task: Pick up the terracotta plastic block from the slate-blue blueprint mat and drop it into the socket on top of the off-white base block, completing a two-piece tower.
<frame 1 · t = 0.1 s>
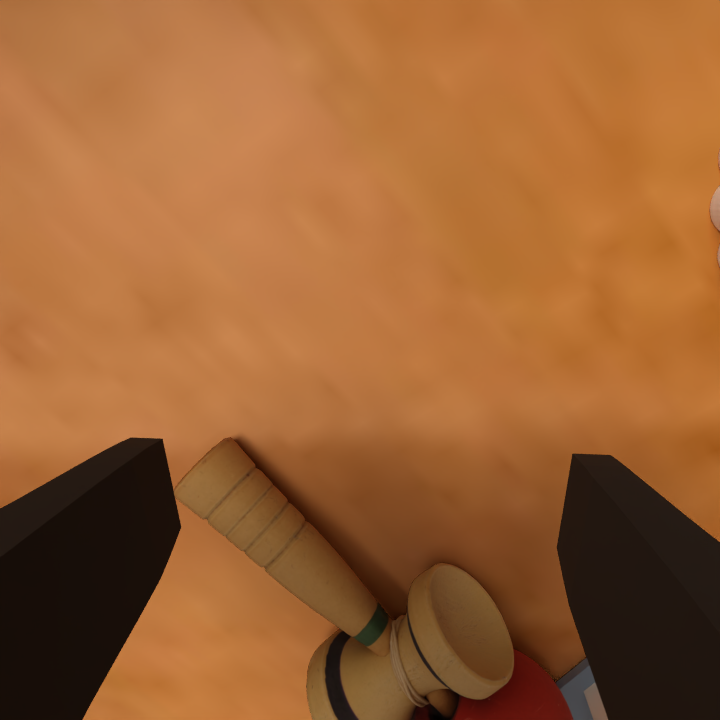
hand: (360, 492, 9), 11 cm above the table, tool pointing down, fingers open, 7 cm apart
kendama: (376, 580, 23), on the table
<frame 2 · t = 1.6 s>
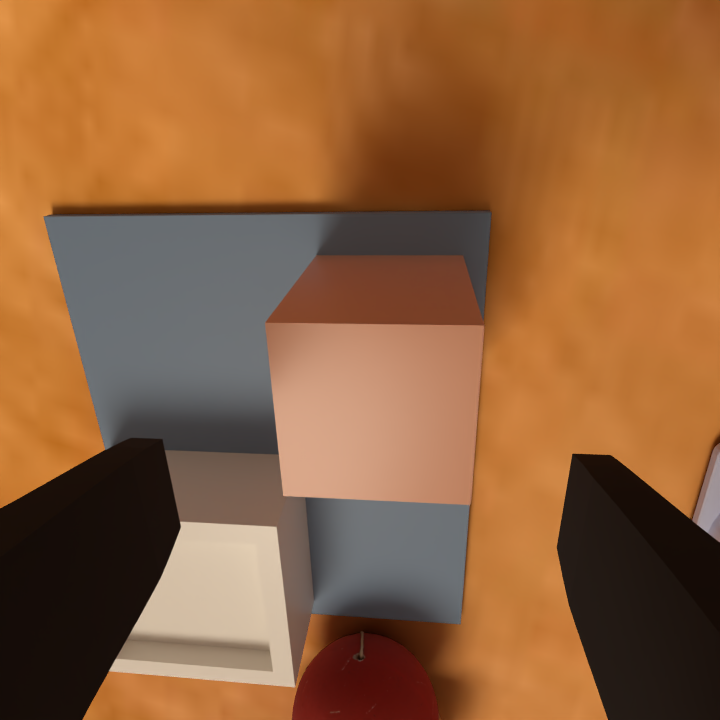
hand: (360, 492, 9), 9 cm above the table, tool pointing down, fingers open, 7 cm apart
blueprint mat: (283, 443, 20), on the table
terracotta block: (388, 324, 17), resting on blueprint mat
base block: (217, 528, 22), resting on blueprint mat
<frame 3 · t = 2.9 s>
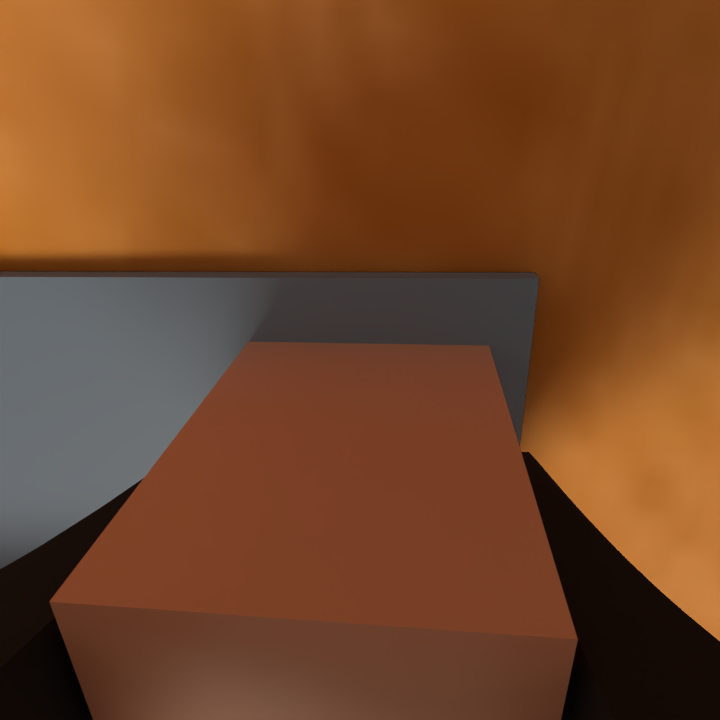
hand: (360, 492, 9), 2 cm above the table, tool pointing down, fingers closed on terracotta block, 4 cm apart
blueprint mat: (218, 595, 14), on the table
terracotta block: (368, 445, 11), resting on blueprint mat, touching gripper
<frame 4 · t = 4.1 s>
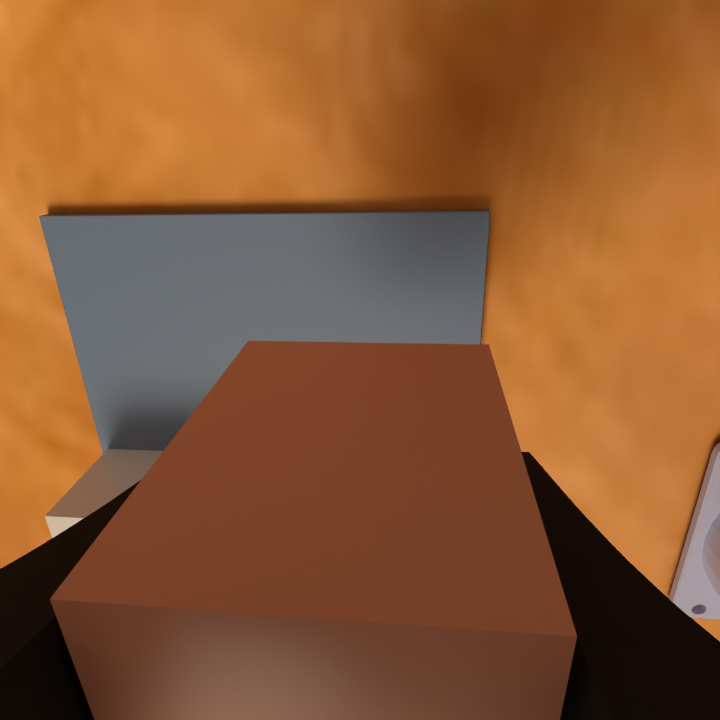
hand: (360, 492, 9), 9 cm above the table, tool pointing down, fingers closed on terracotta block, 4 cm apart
blueprint mat: (281, 443, 20), on the table
terracotta block: (367, 444, 11), point 7 cm above the table, touching gripper
base block: (215, 529, 22), resting on blueprint mat
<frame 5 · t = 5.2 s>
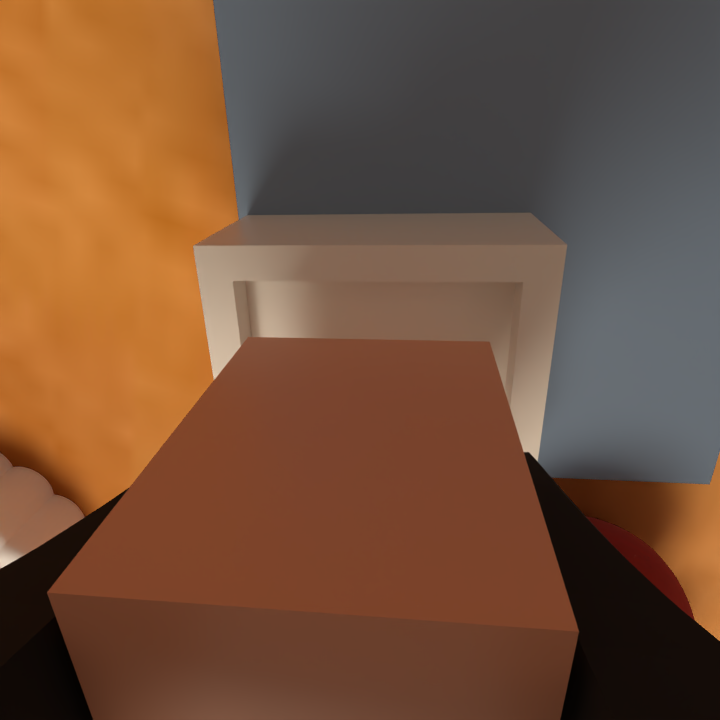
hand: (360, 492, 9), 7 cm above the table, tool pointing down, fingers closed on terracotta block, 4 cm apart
kendama: (533, 656, 22), on the table
blueprint mat: (499, 200, 14), on the table
terracotta block: (367, 441, 11), point 6 cm above the table, touching gripper
base block: (385, 344, 16), resting on blueprint mat
when the fingers open (6 cm above the table, at t = 5.9 s): terracotta block stays where it is, resting on base block.
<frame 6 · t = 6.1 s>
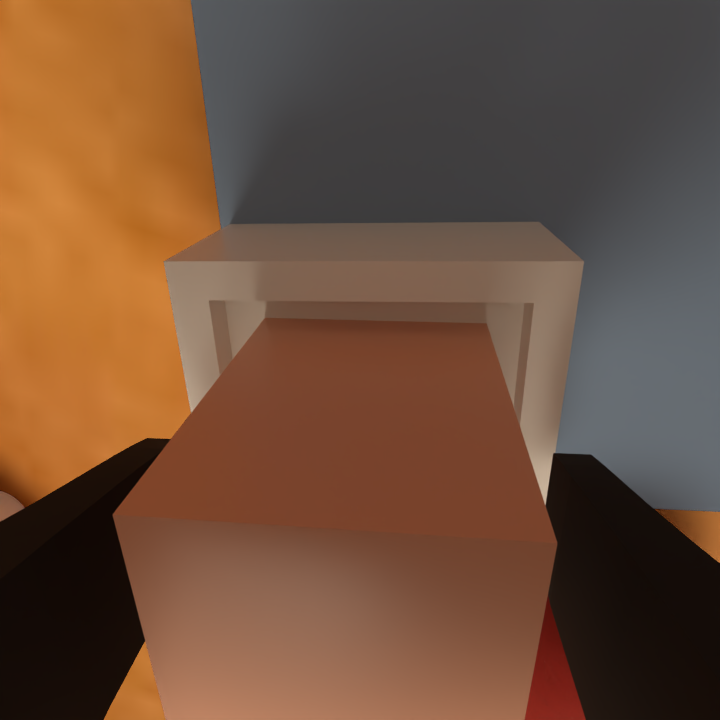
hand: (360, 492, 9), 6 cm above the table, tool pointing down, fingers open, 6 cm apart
kendama: (537, 689, 20), on the table
blueprint mat: (504, 208, 13), on the table
terracotta block: (373, 416, 12), point 3 cm above the table, touching base block
base block: (381, 363, 14), resting on blueprint mat, touching terracotta block
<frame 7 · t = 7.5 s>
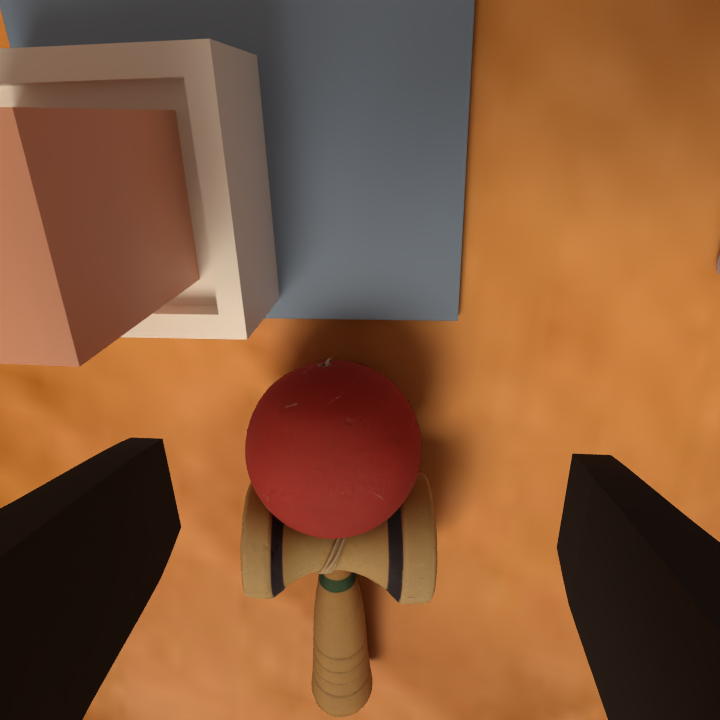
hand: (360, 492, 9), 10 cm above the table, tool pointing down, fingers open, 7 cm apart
kendama: (349, 520, 24), on the table
blueprint mat: (235, 48, 16), on the table
terracotta block: (111, 199, 15), point 3 cm above the table, touching base block
base block: (159, 189, 18), resting on blueprint mat, touching terracotta block
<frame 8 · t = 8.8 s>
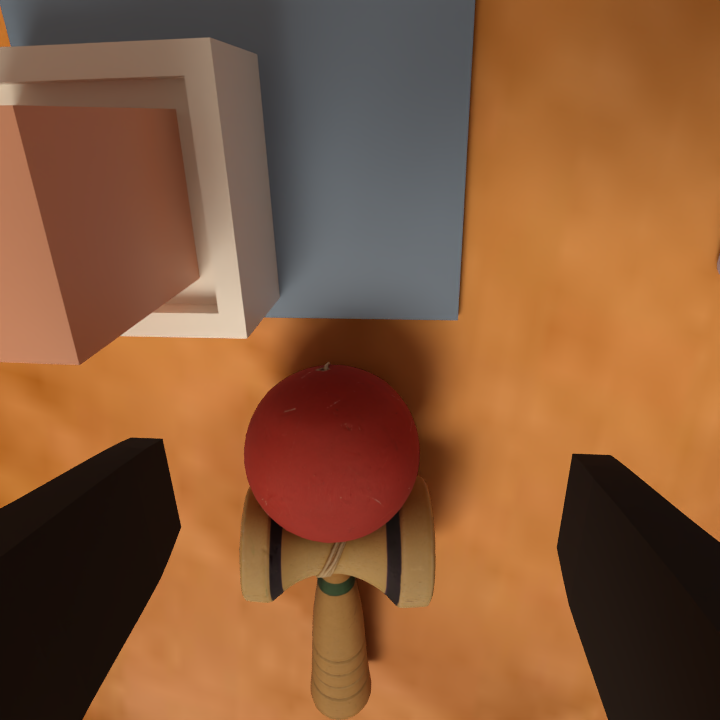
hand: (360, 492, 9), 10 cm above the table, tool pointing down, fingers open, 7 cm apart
kendama: (348, 523, 24), on the table
blueprint mat: (236, 47, 16), on the table
terracotta block: (111, 198, 15), point 3 cm above the table, touching base block
base block: (159, 188, 18), resting on blueprint mat, touching terracotta block
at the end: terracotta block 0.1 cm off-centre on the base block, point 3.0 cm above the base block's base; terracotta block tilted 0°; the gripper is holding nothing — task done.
